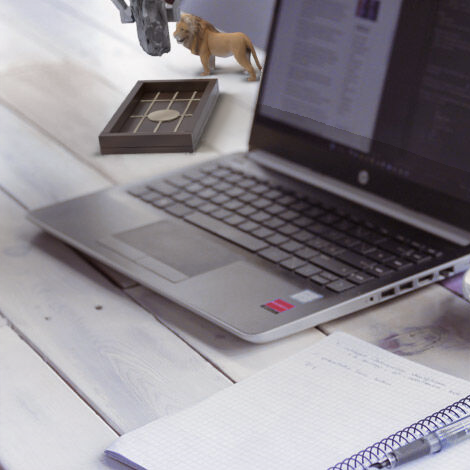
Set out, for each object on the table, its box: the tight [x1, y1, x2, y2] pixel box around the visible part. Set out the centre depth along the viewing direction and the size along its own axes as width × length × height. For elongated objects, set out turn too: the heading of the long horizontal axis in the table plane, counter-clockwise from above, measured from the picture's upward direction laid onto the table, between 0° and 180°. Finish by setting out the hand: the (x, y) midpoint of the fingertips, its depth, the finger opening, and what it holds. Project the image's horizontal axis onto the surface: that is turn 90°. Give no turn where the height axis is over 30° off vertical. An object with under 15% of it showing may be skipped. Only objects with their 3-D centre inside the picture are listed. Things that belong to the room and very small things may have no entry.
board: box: [97, 77, 221, 156], centre depth 121 cm, size 11×21×3 cm, turn 179°
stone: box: [129, 0, 172, 58], centre depth 115 cm, size 15×5×10 cm, turn 9°
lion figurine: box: [172, 13, 263, 82], centre depth 137 cm, size 15×5×9 cm, turn 72°
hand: (151, 21), depth 116 cm, fingers closed on stone, 4 cm apart
